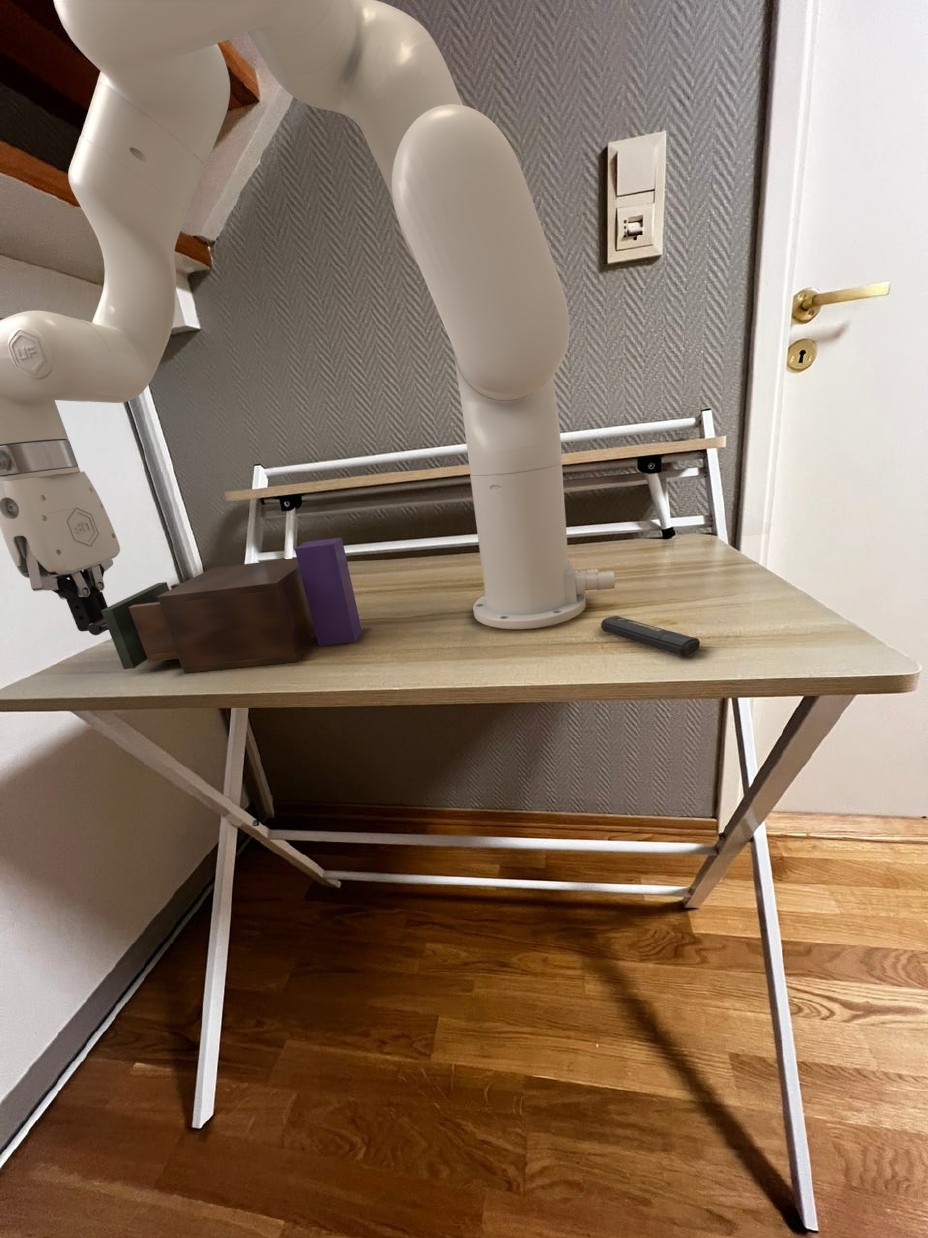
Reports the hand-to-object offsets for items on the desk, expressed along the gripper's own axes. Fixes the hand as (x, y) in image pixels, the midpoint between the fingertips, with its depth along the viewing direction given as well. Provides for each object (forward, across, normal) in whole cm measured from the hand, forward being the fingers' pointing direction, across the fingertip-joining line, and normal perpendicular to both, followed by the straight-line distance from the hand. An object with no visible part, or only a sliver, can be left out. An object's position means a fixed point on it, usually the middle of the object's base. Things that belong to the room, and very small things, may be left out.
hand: (96, 627), depth 62 cm
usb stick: (+4, -9, -60) cm, 60 cm away
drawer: (+4, 0, -9) cm, 10 cm away
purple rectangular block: (+4, 0, -28) cm, 28 cm away
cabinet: (+4, 0, -19) cm, 19 cm away
